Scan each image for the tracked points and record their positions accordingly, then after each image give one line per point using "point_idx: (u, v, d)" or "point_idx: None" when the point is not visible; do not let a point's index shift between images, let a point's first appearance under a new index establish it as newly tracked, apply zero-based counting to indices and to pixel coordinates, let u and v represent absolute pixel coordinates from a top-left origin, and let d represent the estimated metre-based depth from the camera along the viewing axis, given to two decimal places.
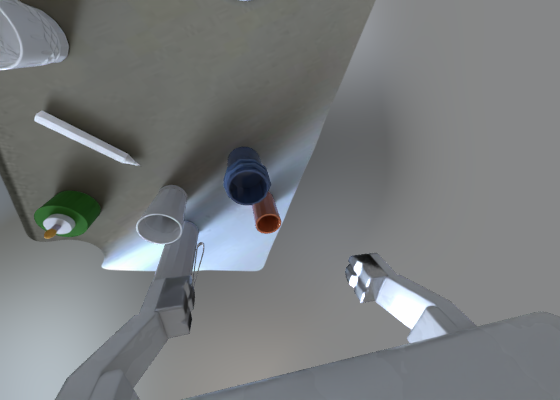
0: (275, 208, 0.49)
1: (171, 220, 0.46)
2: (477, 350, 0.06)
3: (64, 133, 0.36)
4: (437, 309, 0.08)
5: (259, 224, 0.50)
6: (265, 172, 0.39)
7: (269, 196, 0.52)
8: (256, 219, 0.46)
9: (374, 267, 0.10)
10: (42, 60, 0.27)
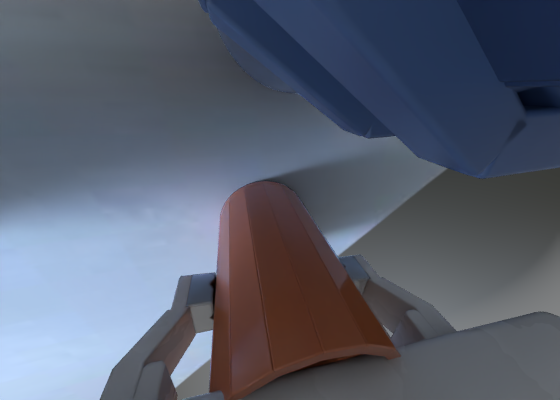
0: None
1: None
2: (477, 350, 0.06)
3: None
4: (417, 314, 0.08)
5: None
6: None
7: (310, 215, 0.12)
8: (246, 354, 0.05)
9: (357, 269, 0.10)
10: None
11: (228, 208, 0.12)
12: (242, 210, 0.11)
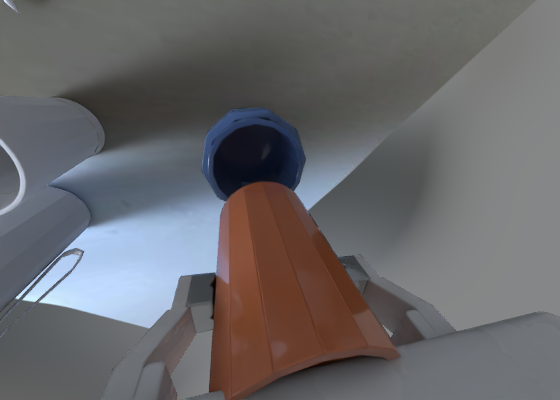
0: None
1: None
2: (477, 350, 0.06)
3: None
4: (417, 313, 0.08)
5: None
6: (302, 156, 0.18)
7: (310, 215, 0.12)
8: (246, 355, 0.05)
9: (357, 269, 0.10)
10: None
11: (228, 208, 0.12)
12: (242, 211, 0.11)
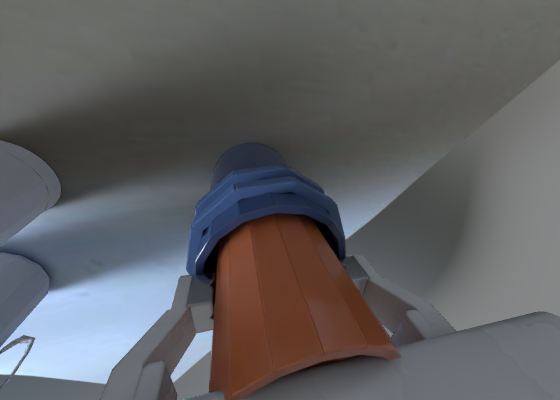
0: None
1: None
2: (477, 350, 0.06)
3: None
4: (417, 313, 0.08)
5: None
6: None
7: None
8: (246, 355, 0.05)
9: (357, 269, 0.10)
10: None
11: None
12: None
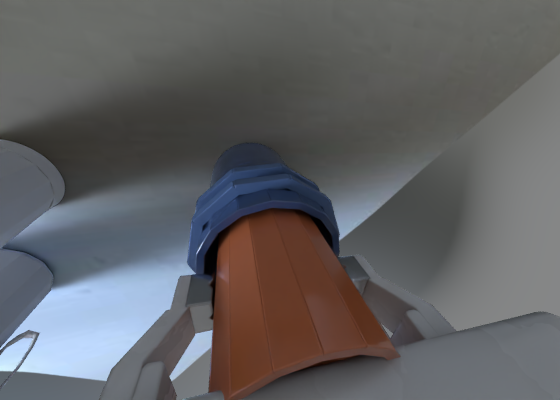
0: None
1: None
2: (477, 350, 0.06)
3: None
4: (417, 313, 0.08)
5: None
6: None
7: (310, 215, 0.12)
8: (246, 355, 0.05)
9: (357, 269, 0.10)
10: None
11: None
12: None
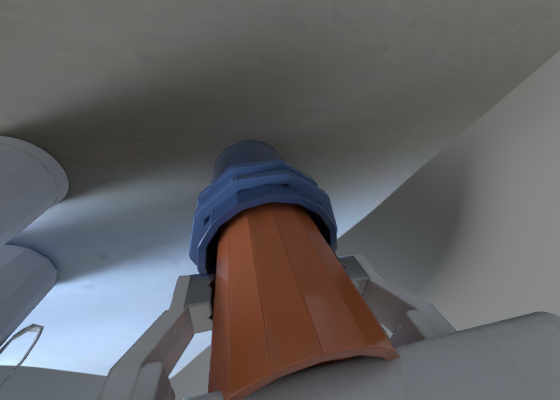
0: None
1: None
2: (477, 350, 0.06)
3: None
4: (417, 313, 0.08)
5: None
6: None
7: (309, 215, 0.12)
8: (245, 355, 0.05)
9: (357, 269, 0.10)
10: None
11: None
12: (241, 211, 0.11)
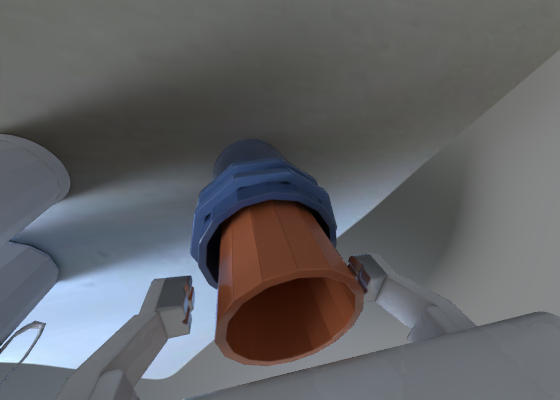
0: None
1: None
2: (477, 350, 0.06)
3: None
4: (437, 309, 0.08)
5: None
6: None
7: None
8: (244, 276, 0.07)
9: (374, 267, 0.10)
10: None
11: None
12: None
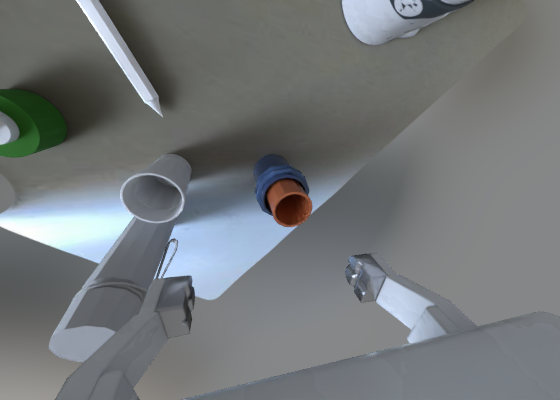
0: None
1: (160, 196, 0.35)
2: (477, 350, 0.06)
3: (99, 27, 0.26)
4: (437, 309, 0.08)
5: None
6: (307, 189, 0.35)
7: None
8: (280, 194, 0.29)
9: (374, 267, 0.10)
10: None
11: None
12: None
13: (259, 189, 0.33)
